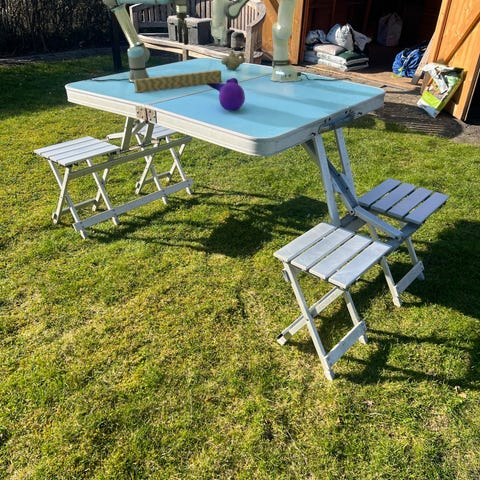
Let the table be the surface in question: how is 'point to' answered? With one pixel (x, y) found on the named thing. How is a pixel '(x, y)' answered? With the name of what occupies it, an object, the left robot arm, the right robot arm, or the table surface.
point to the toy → (230, 94)
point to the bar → (177, 81)
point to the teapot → (233, 61)
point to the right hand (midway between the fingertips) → (219, 44)
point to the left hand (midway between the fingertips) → (183, 43)
